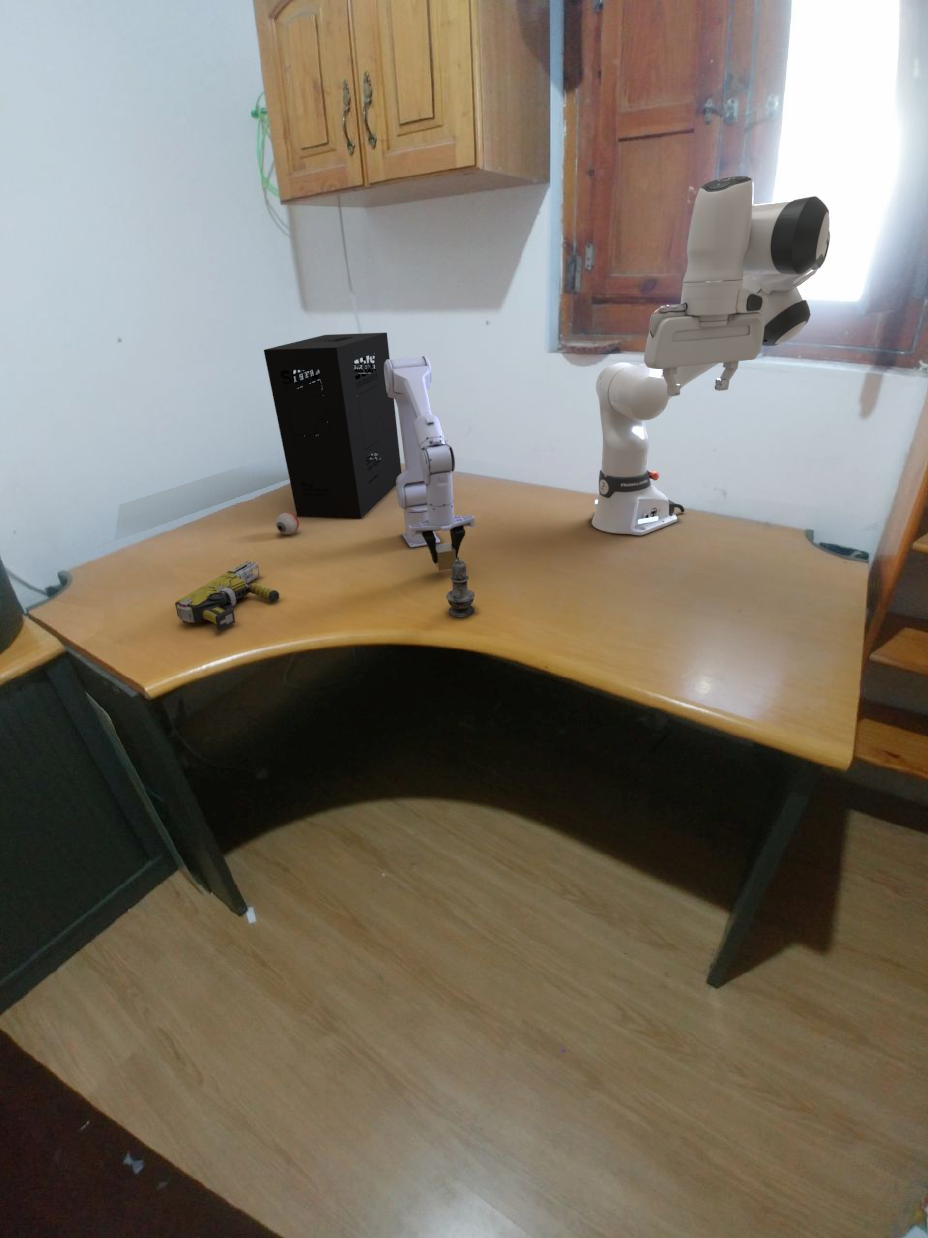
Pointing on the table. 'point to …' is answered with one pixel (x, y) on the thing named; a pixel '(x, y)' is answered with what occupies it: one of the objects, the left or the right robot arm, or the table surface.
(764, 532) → the table surface
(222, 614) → the toy gun
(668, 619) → the table surface
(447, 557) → the block
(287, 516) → the eyeball
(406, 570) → the table surface
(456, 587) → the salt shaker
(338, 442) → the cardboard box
